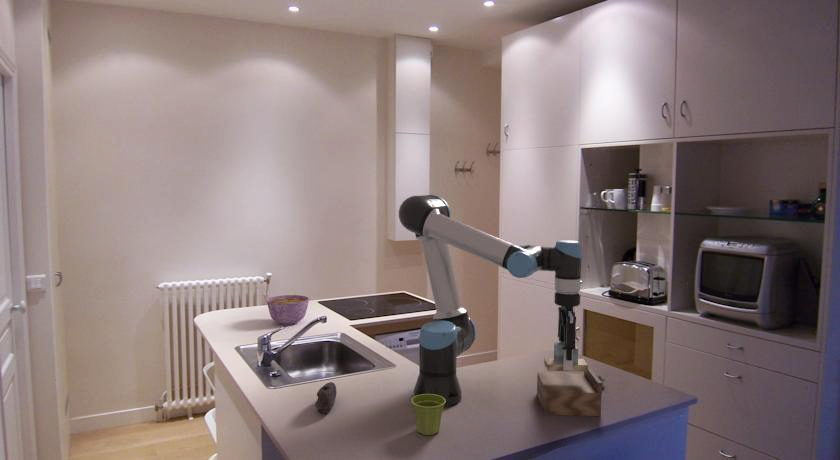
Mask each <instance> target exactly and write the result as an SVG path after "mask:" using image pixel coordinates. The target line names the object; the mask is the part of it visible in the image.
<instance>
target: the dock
mask: <svg viewBox="0 0 840 460" xmlns="http://www.w3.org/2000/svg"><path fill="white" fill-rule="evenodd" d="M596 375H597V374H596V373H595V372H594V370H593V369H592V368H591V367H590V364H588V372H583V373H572V372H571V373H569V372H568V373H565V372H537V376H536V378H537V379H536V381H537V383H536V396H537V397H538V399H539V402H540V405H541V407H542V410H543V411H544V414H545V415H549V416H550V415H551V416H552V415H553V416H554V415H556V416H580V417H581V416H582V417H583V416H584V417H587V416H588V417H601V416H602V398H603V397H602V394H603V393H602V391H603V387H602V382H601V381H600V380H599V378H598V377H597V376H596Z"/></svg>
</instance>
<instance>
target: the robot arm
mask: <svg viewBox="0 0 840 460" xmlns="http://www.w3.org/2000/svg"><path fill="white" fill-rule="evenodd" d="M451 215H452V213H451V208H450V205H449V204H448V202H447V201H446V200H445V199H444V198H442V197H441V196H438V195H434V194H427V195H425V194H423V195H411V196H409V197H407V198H406V199H405V200H403V201H402V203H401V204H400V205H399V209H398V218H399V222H400V223H401V225H402V226H403V227H404V228H405V229H406V230H407V231H409V232H412V233H414V235H415V238H416V240H418V241H419V242H420V243H421V247H422V250H423V256H424V259H425V260H424V261H425V264H426V269H427V274H428V279H429V282H430V286H431V291H432V297H433V301H434V305H435V314H434V316H433V321H429V322H427V323H425V324H423V325H422V326H421V327H420V330H419V337H418V342H419V343H418V344H419V351H418V352H419V353H418V355H419V360H418V361H419V362H418V364H419V369H418V370H419V371H418V372H419V373H418V376H417V380H416V382H415V385H414V389H413V397H414V396H417V395H420V394H435V395H439V396H442V397H444V398H445V400H446V403H445V404H444V407H443V408H447V407H451V406H455V405H457V404H459V403H460V402H461V401H462V395H463V394H462V389H461V386H460V382H459V379H458V376H457V357H459V356H460V355H462V354H463V353H464V352H467V350H468V351H469V349H470V348H471V347H472V345H473V344H474V342H475V340H476V338H477V327H476V325H475V324H476V323H474V321H473V320H472V319H471V318H470V317H469V313H468V310H467V309H466V308H464V307H463V306H462V301H461V298H460V293H459V289H458V284H457V280H456V276H455V275H456V274H455V271H454V265H453V262H452V257H451V252H450V247H449V245H450V246H452V247H454V248H457V249H459V250H461V251H464V252H465V253H468V254H471V255H472V256H476V257H478V258H480V259H482V260H484V261H487V262H489V263H491V264H494V265H496V266H498V267H500V268H503V269H505V270H507V271H508V272H509V273H510V275H512V277H514V278H518V279H524V278H527V277H530V276H532V275H533V274H534V273H537V272H538V271H540V272H541V271H543V272H554V290H555V292H554V304H555V305H556V306H558V307H557V309H558V326H557V338H558V343H565V347H562V349H563V350H564V355H563V370H570V371H569V372H574V371H573V350H574V349H575V348H576V347H575V345H576V323H577V316H576V312H575V311H574V307H579V306H580V305H581V293H580V291H581V285H583V281H582V280H581V279H582V278H581V277H582V244H581V242H580V241H577V240H570V239H569V240H563V239H562V240H557V241H556V242H555V245H554V246H544V245H543V246H542V245H531V244H526V245H525V244H524V245H519V246H518V245H516V244H513V243H511V242H509V241H506V240H504V239H501V238H499V237H497V236H494V235H492V234H489V233H487V232H485V231H482V230H481V229H477V228H475V227H472V226H471V225H468V224H465V223H463V222H461V221H459V220H456V219H454V218H451Z"/></svg>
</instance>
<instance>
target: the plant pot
mask: <svg viewBox="0 0 840 460" xmlns="http://www.w3.org/2000/svg"><path fill="white" fill-rule="evenodd" d="M410 402H411V404H412V407H413V409H414V410H413V411H414V417H415V425H416V431H417V433H418V434H422V435H423V436H433V435H436V434H437V433H440V428H441V421H442V415H443V410H444V408H445V407H444V404H445V403H446V400H445V398H444V397H442V396H439V395H435V394H420V395H417V396H414V395H413V397H411V399H410Z"/></svg>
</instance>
